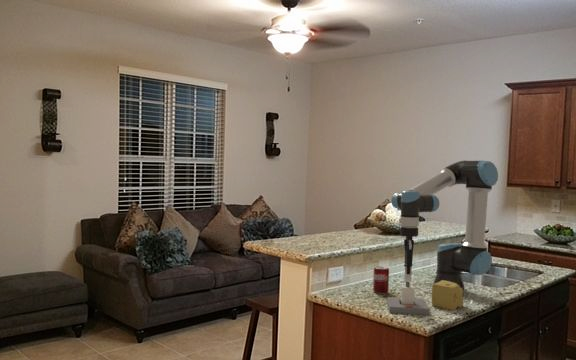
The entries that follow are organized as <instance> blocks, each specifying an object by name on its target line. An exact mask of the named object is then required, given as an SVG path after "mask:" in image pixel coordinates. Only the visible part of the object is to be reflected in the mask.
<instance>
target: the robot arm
mask: <svg viewBox="0 0 576 360" xmlns="http://www.w3.org/2000/svg"><path fill="white" fill-rule="evenodd" d="M498 180H499V172H498V169H497V167H496V165H495V164H494V162H492V161H489V160H460V161H457V162H454V163H452V164H449V165H448V166H445V167H443V168H441V169H440V170H439V173H437V174H435V175H433V176H431V177H428V179H425V180H423V182H420V183H419V184H417V185H414V186H413V187H412V188H410V189H408V190H403V191H402V192H395V193H394V194H393V195H392V197H391V206H392V207H393V208H395V209H398V210H400V218H399V219H398V220H399V221H400V226H401V227H400V228H399V234H400V236H401V237H405V239H403V246H404V247H403V248H404V264H403V267H404V279H403V280H404V282H410V283H412V269H413V268H412V266H413V265H414V264H413V256H414V247H415V246H414V245H415V241H414V239H413V237H414V238H415V237H418V236H419V228H418V227H419V225H420V224H419V222H420V216H419V215H420V213H432V212H437V210H439V207H440V199H439V197H438V196H436V195H435V194H436V193H438V192H440V191H442V190H443V189H445V188H447V187H448V188H449V187H453V186H455V185H465V189H466V190H467V191H468V197H467V198H468V199H467V210H466V211H467V212H466V225H465V239H464V241H463V243H460V242H459V243H457V242H454V243H452V242H451V243H440V244H438V246H437V251H436V253H437V254H436V274H435V277H434V280H433V283H432V285H433V284H435V283H438V282H440V281H441V280H445V281H449V282H453V283H457V284H458V285H460V288H462V290H463V293H464V292H465V284H464V280H463V276H462V273H467V274H471V275H472V276H473V275H476V276H483V275H485V274H486V273H488V271H490V270H489V269H491V266H492V262H493V261H492V260H493V258H492V257H493V256H491V255H492V254H491V253H490V252H489V251H488V246H487V245H486V244H485V237H486V236H485V235H486V224H487V209H488V208H487V207H488V196H489V193H490V192H491V191H492V188H493V186H495V185H496V184H497V182H498Z"/></svg>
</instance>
